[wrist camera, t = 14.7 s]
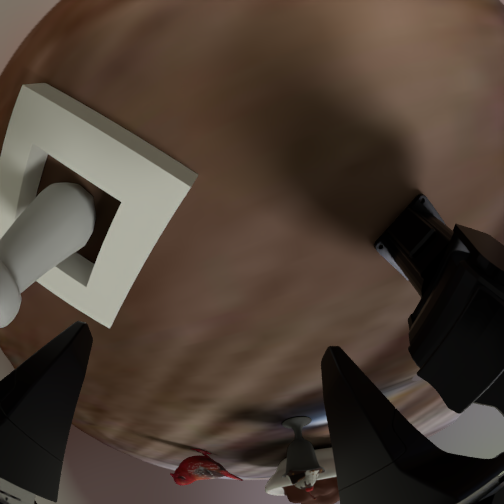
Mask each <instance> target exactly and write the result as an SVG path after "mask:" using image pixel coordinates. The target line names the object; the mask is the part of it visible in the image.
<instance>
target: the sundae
mask: <svg viewBox="0 0 504 504" xmlns="http://www.w3.org/2000/svg"><path fill="white" fill-rule="evenodd" d="M310 422H311V419H310V418H309V417H303V416H301V417H293V418H290V419H287V420H285V421H284V422H283V423H282V425H283V426H284V427H286V428H292V429H293V430H294V433H295V440H294V441H293V442H292V443H291V444H290V445H289V447H288V451H287V462H286V473H285V474H284V475H283V476H282V477H287V478H288V479H289V480H291V483H292V484H293V485H294V484H295V486H296V487H298V488H299V489H304V490H306V491H307V492H309V494H310V496H311V497H312V498H313V499H314V500H316V499H317V498H315V497H314V496H312V495H311V493H310V491H312V490H313V487H314V486H313V485H314V483H315V482H316V480H317V478H318V474H320V473H323V472H325V469H324V468H323V467H320V466H319V463H318V461H317V458H316V454H315V451H314V448H313V446H312V444H311V443H310V442H309V441H307V440H305V439H303V438H302V427H303V426H306V425H308V424H309V423H310Z"/></svg>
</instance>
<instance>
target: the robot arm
mask: <svg viewBox="0 0 504 504" xmlns="http://www.w3.org/2000/svg"><path fill="white" fill-rule="evenodd" d="M422 198H423V199H422ZM421 199H422V201H421V202H420V200H421ZM381 244H382V245H381ZM379 245H381V246H380V247H379ZM374 247H375V249H376V250H377V251H378V252H379V253H380V254H381V255H382V256H383V257H384V258H385V259H386V260H387V261H388V262H389V263H390V264H391V265H392V266H393V267H395V268H396V269H397V270H398V271H399V272H400V273H401V274H402V275H403V276H404V277H405V278H406V279H407V280H409V281H410V282H411V284H412V285H413V287H414V288H415V289H416V291H417V292H418V294H419V295H420V296H421V300H420V302H419V304H418V305H417V307H416V309H415V310H414V312H413V314H411V315H410V317H409V318H408V324H409V330H410V332H409V341H410V346H409V347H408V350H409V352H410V354H411V356H412V359H413V360H414V362H415V363H416V364H417V366H418V367H419V368H420V370H419V371H418V372H417V375H418V376H419V377H421V378H422V379H424V380H425V381H427V382H428V383H429V384H430V385H431V386H433V387H434V388H435V389H436V391H437V392H438V393H439V395H440V396H441V398H442V399H443V401H444V402H445V404H446V405H447V407H448V408H449V409H451V410H453V411H455V412H456V413H462V412H463V411H465V410H466V409H467V408H468V407H469V406H470V405H471V404H472V403H476V404H481V405H486V406H491V407H495V408H496V409H497V410H498V411H499V412H500V413H501V414H502V415H503V416H504V245H502V244H501V243H500V242H498V241H497V240H496V239H494V238H493V237H491V236H490V235H488V234H486V233H483V232H480V231H477V230H474V229H471V228H468V227H465V226H462V225H458V224H455V226H454V229H453V231H452V230H451V229H450V228H449V227H447V226H446V224H445V223H444V221H443V220H442V218H441V217H440V215H439V214H438V213H437V211H436V210H435V208H434V207H433V205H432V204H431V203H430V201H429V200H428V199H427V197H426V196H425V195H423V194H419V195H418V196H417V197H416V198H415V199H414V200H413V201H412V202H411V204H410V205H409V206H408V207H407V208H406V209H405V210H404V212H403V213H402V214H401V215H400V216H399V217H398V218H397V219H396V220H395V222H394V223H393V224H392V225H391V226H390V227H389V228H388V229H387V230H386V231H385V232H384V234H383V235H382V236H381V237H380V238H379V239H378V240H377V241H376V242H375V244H374ZM92 343H93V338H92V335H91V332H90V330H89V327H88V324H87V323H85V322H81V321H77V322H75V323H74V324H72V325H71V326H70V327H68V328H67V329H66V330H64V331H63V332H62V333H60V334H59V335H58V336H57V337H55V338H54V339H53V340H51V341H50V342H49V343H47V344H46V345H45V346H44V347H42V348H41V349H40V350H38V351H37V352H36V353H35V354H33V355H32V356H31V357H30V358H28V359H27V360H26V361H25V362H23V363H22V364H21V365H20V366H18V367H17V368H16V369H15V370H13V371H12V372H11V373H10V374H9V375H7V376H6V377H5V378H4V379H2V380H1V381H0V504H37V503H36V501H35V495H38V496H41V497H43V498H45V499H48V500H51V501H54V502H57V497H58V489H59V482H60V476H61V470H62V464H63V462H62V461H63V458H64V453H65V449H66V444H67V439H68V435H69V430H70V427H71V423H72V419H73V415H74V411H75V408H76V404H77V401H78V397H79V394H80V391H81V387H82V384H83V381H84V377H85V374H86V369H87V365H88V360H89V356H90V351H91V347H92ZM321 371H322V384H323V398H324V405H325V411H326V416H327V421H328V427H329V433H330V439H331V445H332V451H333V457H334V463H335V470H336V476H337V483H338V490H339V498H340V504H504V474H502V475H500V476H499V477H498V475H499V474H500V473H501V472H502V471H504V452H502V453H500V454H499V455H497V456H496V457H495V458H492V459H480V458H473V457H467V456H462V455H456V454H451V453H447V452H445V451H443V450H441V449H439V448H438V447H437V446H435V445H434V444H433V443H432V442H431V441H430V440H428V439H427V438H426V437H425V436H424V435H423V434H421V433H420V432H419V431H418V430H417V429H416V428H415V427H414V426H413V425H412V424H410V423H409V422H408V421H407V419H406V418H405V417H404V416H403V415H402V414H401V413H400V412H399V411H398V410H397V409H395V407H394V406H393V405H392V403H391V402H390V401H389V400H388V399H387V398H386V397H385V396H384V395H383V394H382V392H381V391H380V390H379V389H378V388H377V387H376V386H375V385H374V384H373V383H372V382H371V380H370V379H369V378H368V377H367V376H366V375H365V374H364V373H363V372H362V371H361V369H360V368H359V367H358V366H357V365H356V364H355V363H354V362H353V361H352V360H351V359H350V357H349V356H348V355H347V354H346V353H345V352H344V351H343V350H342V349H341V348H340V347H339V346H329V347H328V348H327V350H326V352H325V354H324V356H323V358H322V361H321Z"/></svg>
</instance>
